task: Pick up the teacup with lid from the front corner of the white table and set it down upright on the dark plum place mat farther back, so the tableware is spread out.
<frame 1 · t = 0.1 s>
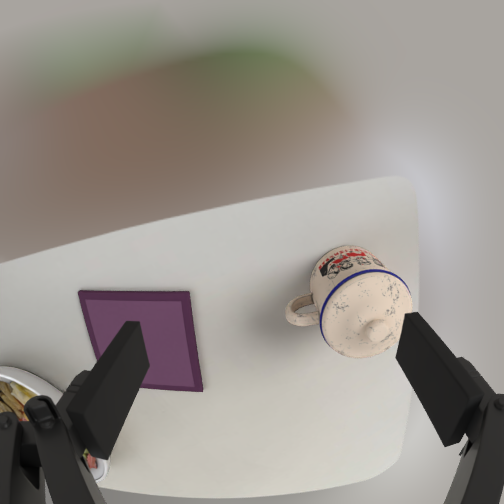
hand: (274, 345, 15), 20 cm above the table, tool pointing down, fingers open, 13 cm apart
teacup with lid: (333, 282, 36), on the table
place mat: (141, 343, 39), on the table
bowl: (48, 419, 46), on the table
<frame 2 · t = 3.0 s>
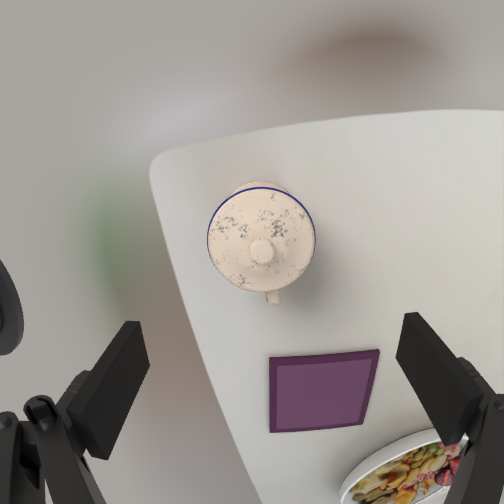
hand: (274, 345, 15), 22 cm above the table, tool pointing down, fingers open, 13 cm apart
teacup with lid: (262, 232, 36), on the table
place mat: (321, 394, 42), on the table
bowl: (404, 465, 50), on the table
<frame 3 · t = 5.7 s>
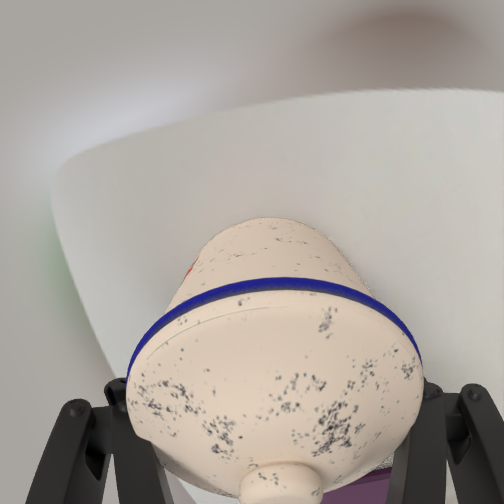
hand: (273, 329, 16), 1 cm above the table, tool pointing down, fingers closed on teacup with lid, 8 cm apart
teacup with lid: (273, 320, 17), on the table, touching gripper
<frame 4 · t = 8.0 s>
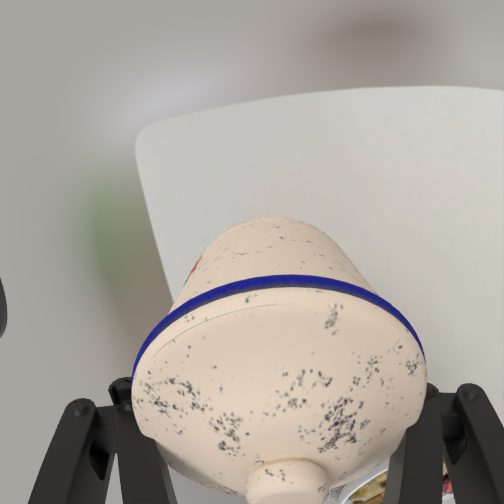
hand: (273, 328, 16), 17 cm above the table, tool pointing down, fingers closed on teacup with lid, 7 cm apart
teacup with lid: (276, 319, 17), point 16 cm above the table, touching gripper
bowl: (407, 471, 46), on the table
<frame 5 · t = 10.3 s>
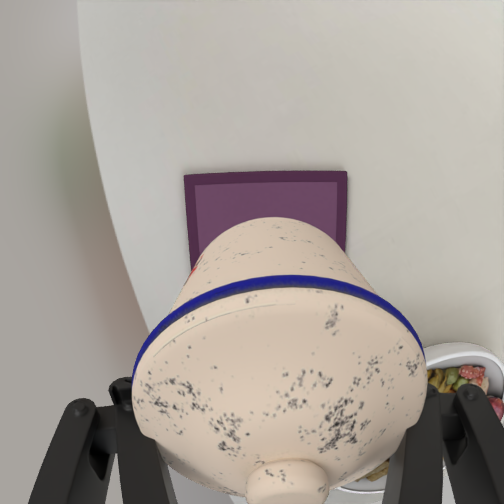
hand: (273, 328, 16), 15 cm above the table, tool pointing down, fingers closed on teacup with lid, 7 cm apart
teacup with lid: (277, 319, 17), point 14 cm above the table, touching gripper
place mat: (267, 249, 31), on the table
bowl: (410, 414, 38), on the table
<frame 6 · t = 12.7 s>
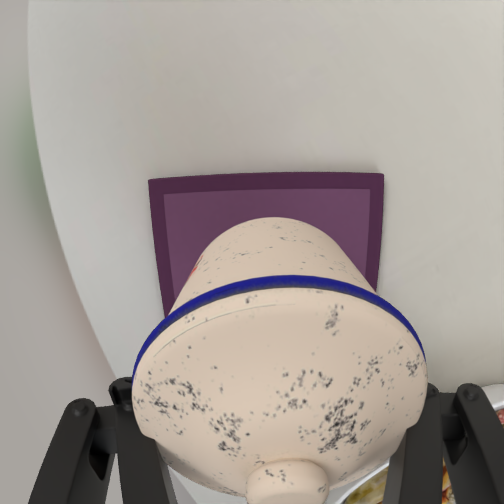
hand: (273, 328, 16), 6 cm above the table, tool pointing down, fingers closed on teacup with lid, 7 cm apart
teacup with lid: (277, 319, 17), point 5 cm above the table, touching gripper
place mat: (269, 284, 22), on the table
bowl: (432, 458, 29), on the table
when the fingers open (1 cm above the table, at t = 14.4 s): teacup with lid stays where it is, resting on place mat.
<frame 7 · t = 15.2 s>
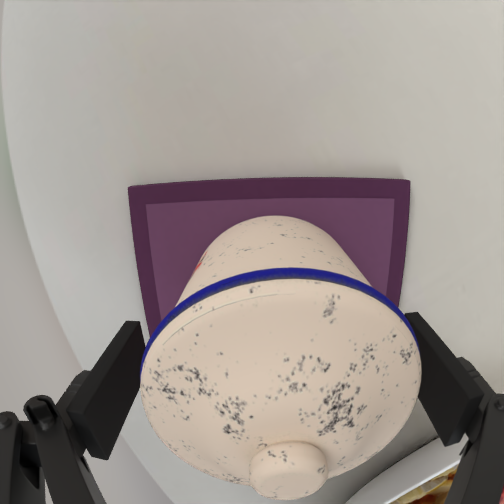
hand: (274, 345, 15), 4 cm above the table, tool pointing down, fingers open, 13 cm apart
teacup with lid: (277, 314, 18), resting on place mat
place mat: (273, 310, 18), on the table
bowl: (442, 479, 26), on the table
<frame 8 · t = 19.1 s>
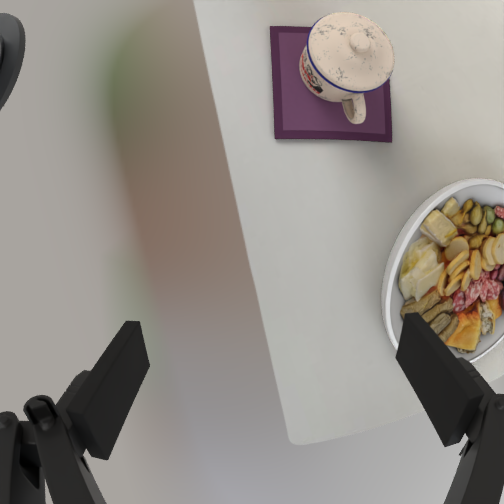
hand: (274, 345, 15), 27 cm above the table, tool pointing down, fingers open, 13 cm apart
teacup with lid: (335, 81, 34), resting on place mat
place mat: (332, 81, 35), on the table
bowl: (458, 272, 42), on the table
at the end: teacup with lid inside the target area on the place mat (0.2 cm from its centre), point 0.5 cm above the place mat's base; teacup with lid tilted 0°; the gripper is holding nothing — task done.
